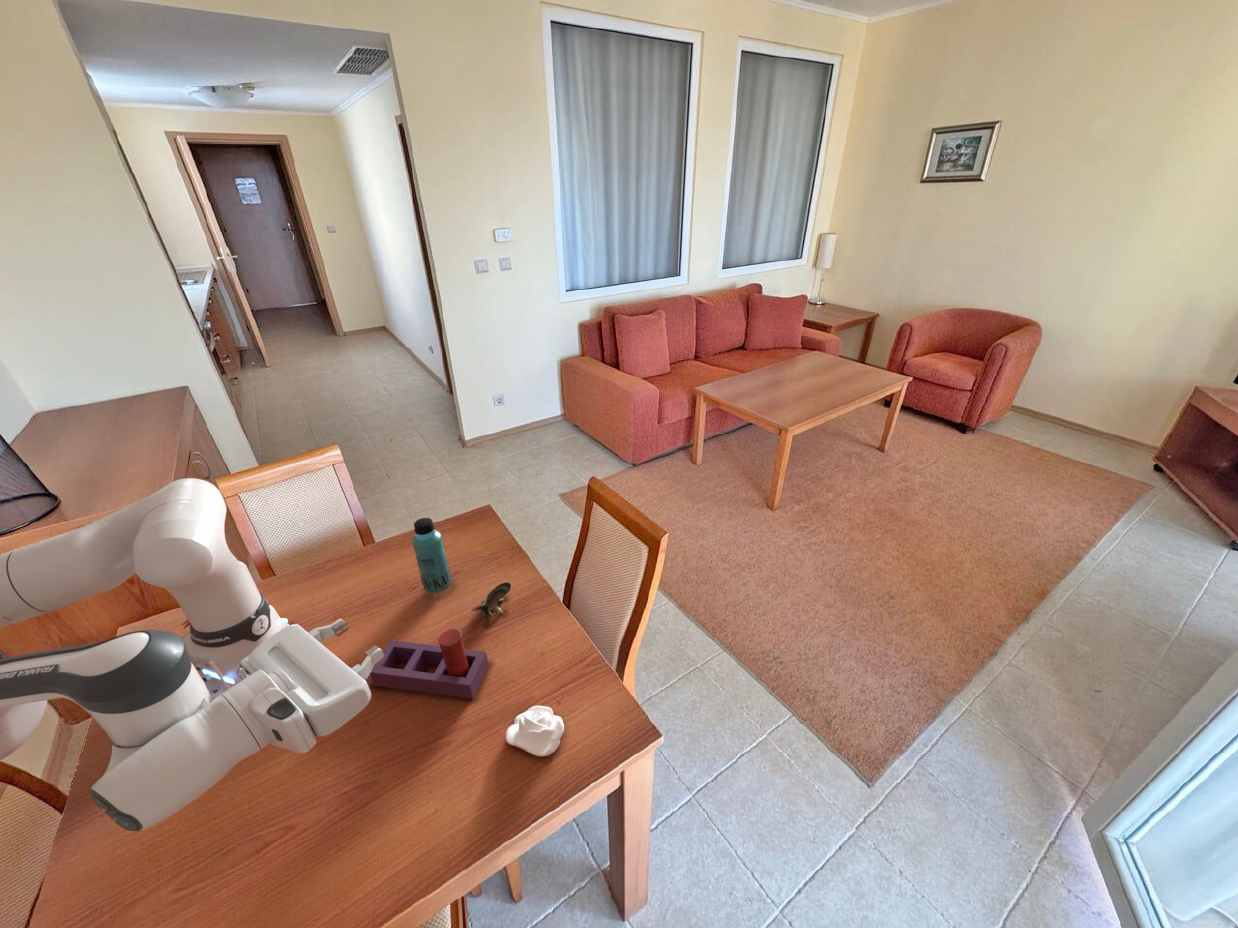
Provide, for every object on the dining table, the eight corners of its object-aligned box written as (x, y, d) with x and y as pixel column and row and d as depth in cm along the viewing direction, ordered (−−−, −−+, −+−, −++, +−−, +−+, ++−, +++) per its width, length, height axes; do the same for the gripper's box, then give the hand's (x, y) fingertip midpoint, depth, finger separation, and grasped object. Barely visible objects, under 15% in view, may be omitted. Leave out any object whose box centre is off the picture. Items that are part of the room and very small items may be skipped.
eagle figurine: (510, 623, 108) (519, 589, 115) (487, 606, 105) (498, 572, 112) (485, 632, 111) (496, 598, 118) (462, 615, 108) (475, 582, 115)
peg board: (373, 685, 96) (368, 671, 94) (395, 653, 103) (391, 639, 101) (473, 699, 93) (469, 685, 92) (488, 665, 100) (485, 651, 98)
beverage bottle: (425, 583, 121) (407, 516, 112) (453, 577, 123) (438, 511, 113) (424, 601, 116) (405, 532, 106) (453, 595, 118) (437, 527, 108)
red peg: (446, 687, 96) (434, 644, 90) (455, 670, 99) (444, 627, 93) (466, 690, 95) (455, 647, 89) (474, 672, 99) (464, 630, 93)
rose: (508, 755, 80) (499, 704, 88) (511, 771, 82) (502, 720, 90) (568, 734, 82) (554, 687, 90) (570, 750, 85) (556, 702, 93)
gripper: (239, 682, 72) (331, 622, 82) (311, 761, 62) (407, 681, 72) (221, 653, 69) (320, 594, 79) (295, 730, 59) (397, 651, 69)
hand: (362, 636), depth 76 cm, fingers open, 8 cm apart
